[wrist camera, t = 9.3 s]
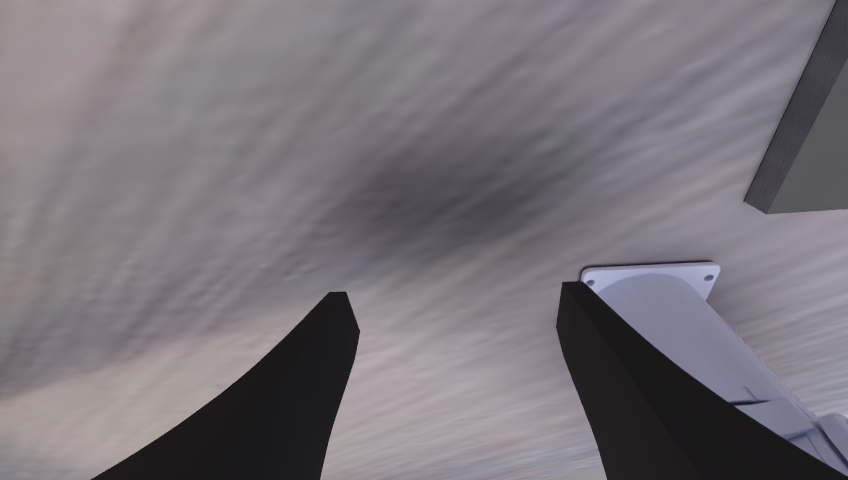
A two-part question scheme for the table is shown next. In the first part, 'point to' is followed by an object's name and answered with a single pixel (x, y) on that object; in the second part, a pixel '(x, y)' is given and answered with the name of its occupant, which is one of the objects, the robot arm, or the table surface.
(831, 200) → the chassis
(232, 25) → the table surface
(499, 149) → the table surface
